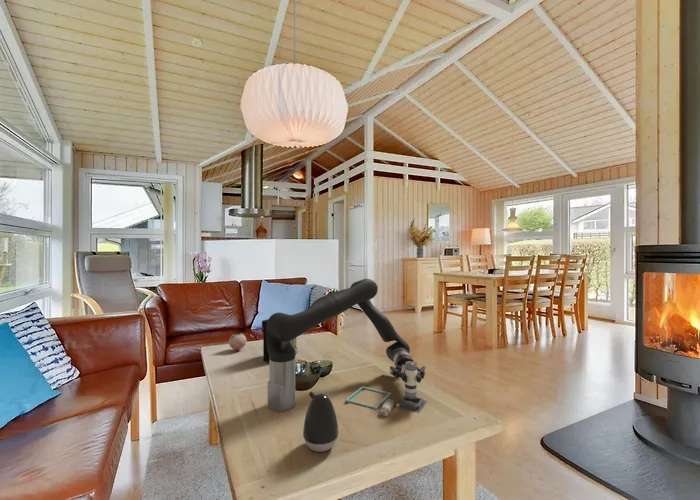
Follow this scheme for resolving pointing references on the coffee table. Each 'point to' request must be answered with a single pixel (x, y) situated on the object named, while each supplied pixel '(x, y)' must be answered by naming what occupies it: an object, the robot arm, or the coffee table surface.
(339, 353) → the coffee table surface
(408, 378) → the fuse
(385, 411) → the cylinder
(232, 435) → the coffee table surface
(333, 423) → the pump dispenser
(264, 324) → the electrical component
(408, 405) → the holder block
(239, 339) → the decorative fruit
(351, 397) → the teal square frame
